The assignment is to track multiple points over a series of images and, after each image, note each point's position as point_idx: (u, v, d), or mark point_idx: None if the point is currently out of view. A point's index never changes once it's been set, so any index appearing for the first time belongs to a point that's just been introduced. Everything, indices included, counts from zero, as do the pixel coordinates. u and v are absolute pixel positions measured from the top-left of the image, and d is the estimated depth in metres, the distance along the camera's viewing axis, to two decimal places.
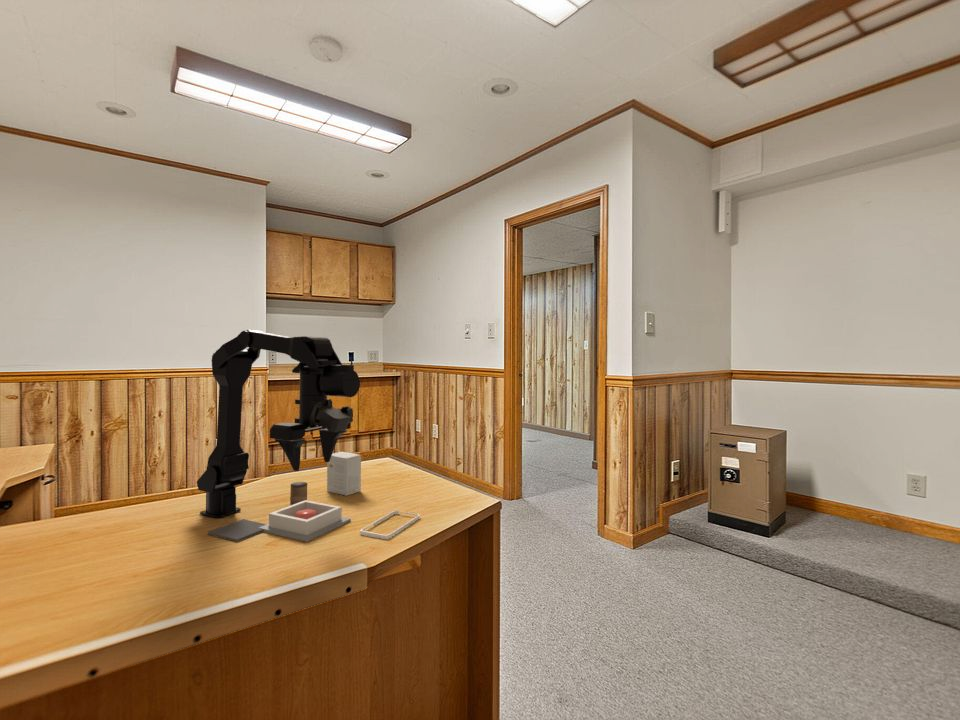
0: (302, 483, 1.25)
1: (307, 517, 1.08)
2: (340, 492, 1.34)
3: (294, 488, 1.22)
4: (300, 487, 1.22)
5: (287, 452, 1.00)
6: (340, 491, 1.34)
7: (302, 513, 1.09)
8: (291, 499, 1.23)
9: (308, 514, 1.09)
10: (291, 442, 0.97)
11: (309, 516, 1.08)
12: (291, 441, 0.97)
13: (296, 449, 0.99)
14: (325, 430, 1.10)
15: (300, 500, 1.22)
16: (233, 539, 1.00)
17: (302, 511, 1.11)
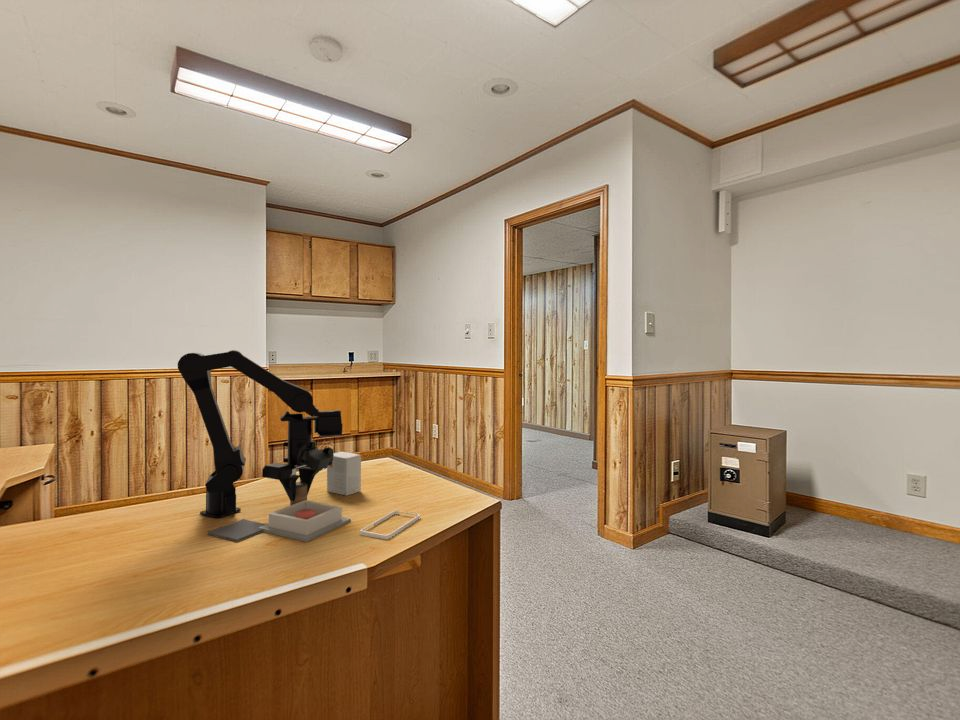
0: (302, 483, 1.24)
1: (307, 517, 1.08)
2: (340, 492, 1.34)
3: None
4: (300, 487, 1.22)
5: (284, 485, 1.21)
6: (340, 491, 1.34)
7: (302, 513, 1.09)
8: None
9: (308, 514, 1.09)
10: (288, 478, 1.18)
11: (309, 516, 1.08)
12: (288, 477, 1.18)
13: (292, 483, 1.20)
14: (303, 468, 1.27)
15: (300, 500, 1.22)
16: (233, 539, 1.00)
17: (302, 511, 1.11)
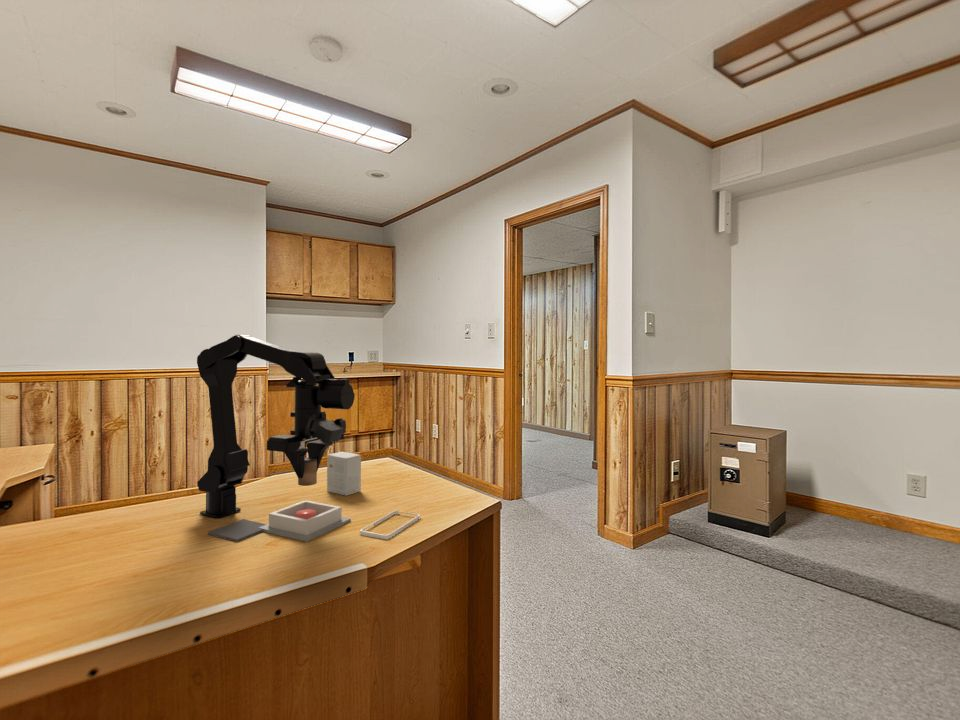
0: (311, 458, 1.11)
1: (307, 517, 1.08)
2: (340, 492, 1.34)
3: None
4: (309, 462, 1.09)
5: (292, 461, 1.08)
6: (340, 491, 1.34)
7: (302, 513, 1.09)
8: None
9: (308, 514, 1.09)
10: (295, 451, 1.04)
11: (309, 516, 1.08)
12: (296, 450, 1.05)
13: (300, 458, 1.06)
14: (312, 442, 1.14)
15: (309, 477, 1.09)
16: (233, 539, 1.00)
17: (302, 511, 1.11)
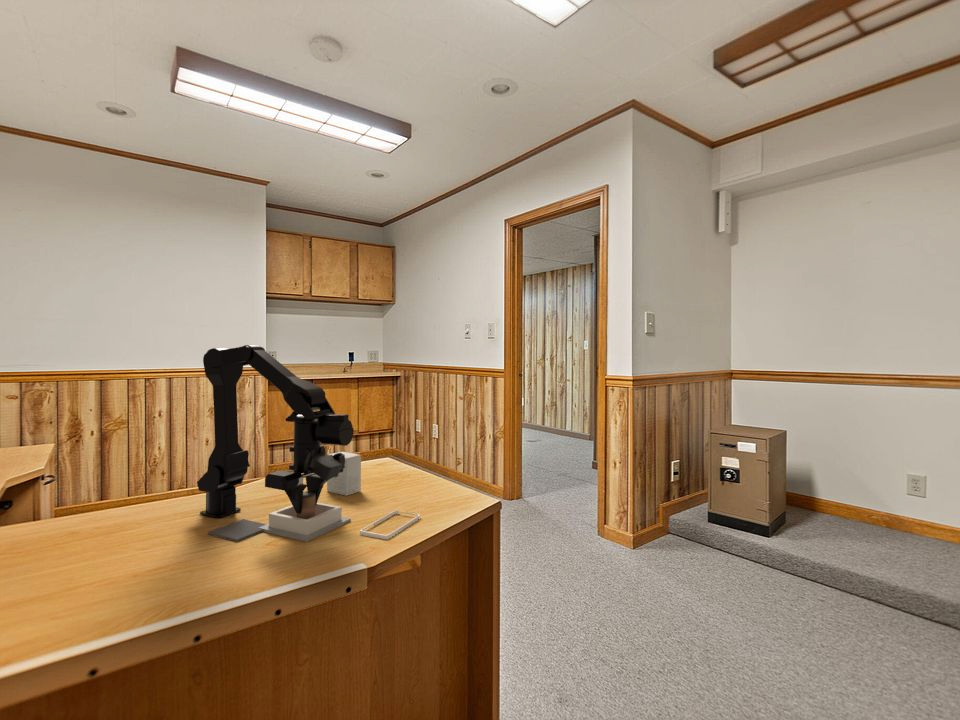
0: (310, 493, 1.10)
1: None
2: (340, 492, 1.34)
3: None
4: (308, 498, 1.08)
5: (290, 496, 1.07)
6: (340, 491, 1.34)
7: None
8: None
9: None
10: (294, 488, 1.04)
11: None
12: (294, 487, 1.04)
13: (298, 494, 1.06)
14: (311, 476, 1.13)
15: (308, 512, 1.08)
16: (233, 539, 1.00)
17: None
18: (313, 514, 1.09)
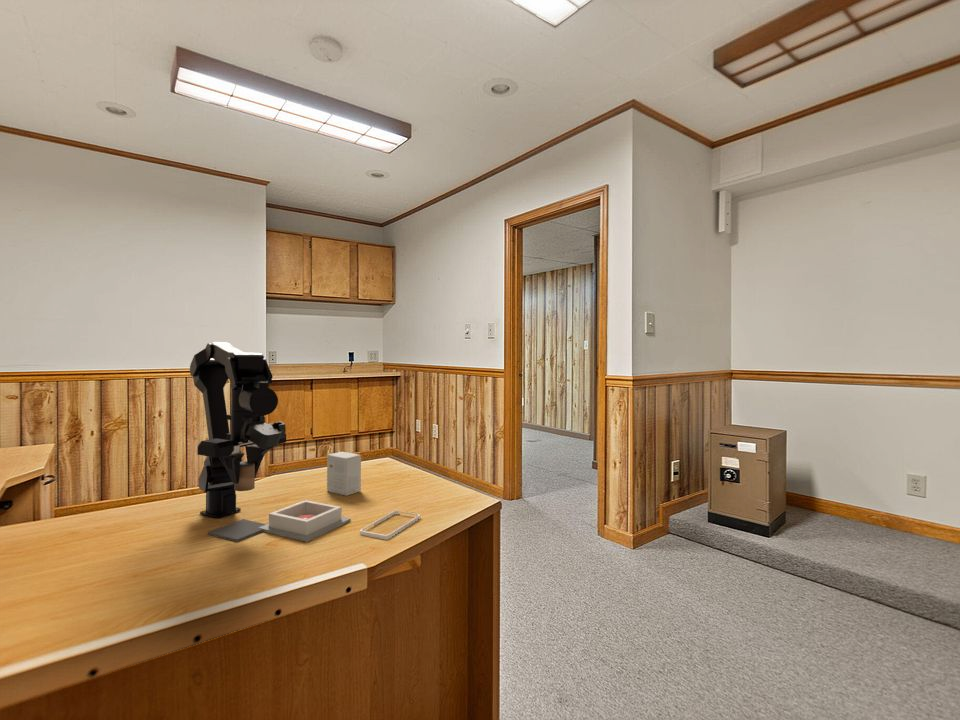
0: (249, 463, 1.06)
1: None
2: (340, 492, 1.34)
3: None
4: (245, 467, 1.04)
5: (226, 465, 1.03)
6: (340, 491, 1.34)
7: None
8: None
9: None
10: (229, 456, 1.00)
11: None
12: (229, 455, 1.00)
13: (235, 463, 1.02)
14: (251, 446, 1.09)
15: (246, 482, 1.04)
16: (233, 539, 1.00)
17: (302, 516, 1.11)
18: (252, 484, 1.05)
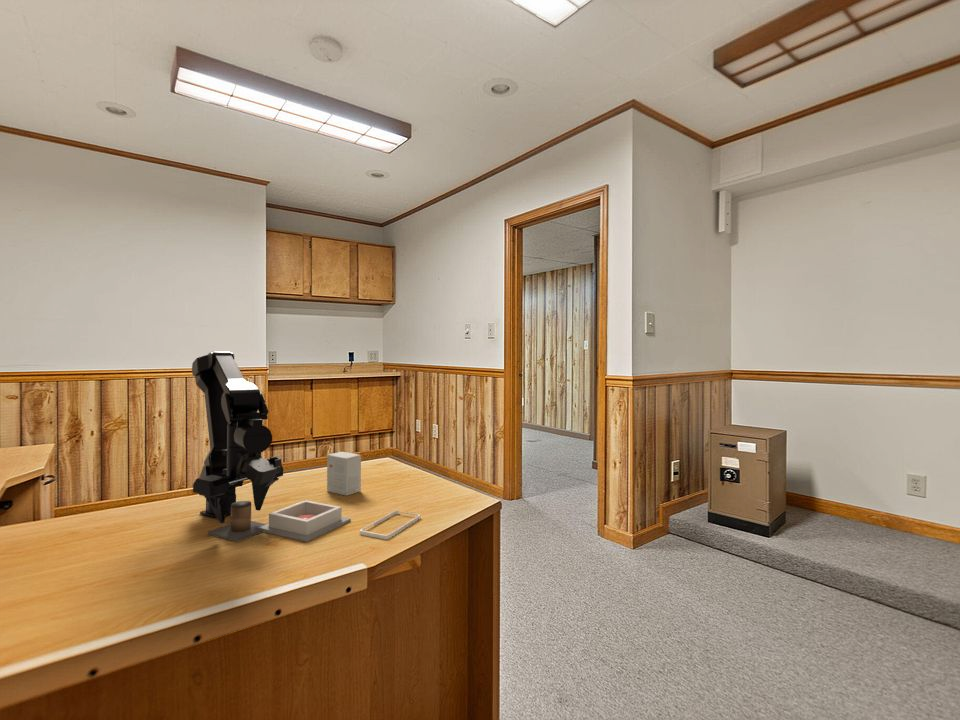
0: (245, 503, 1.06)
1: None
2: (340, 492, 1.34)
3: (234, 508, 1.04)
4: (242, 508, 1.04)
5: (212, 505, 1.01)
6: (340, 491, 1.34)
7: None
8: (231, 522, 1.04)
9: None
10: (213, 496, 0.98)
11: None
12: (214, 496, 0.98)
13: (220, 502, 1.00)
14: None
15: (242, 523, 1.04)
16: (233, 539, 1.00)
17: (302, 516, 1.11)
18: (248, 525, 1.05)
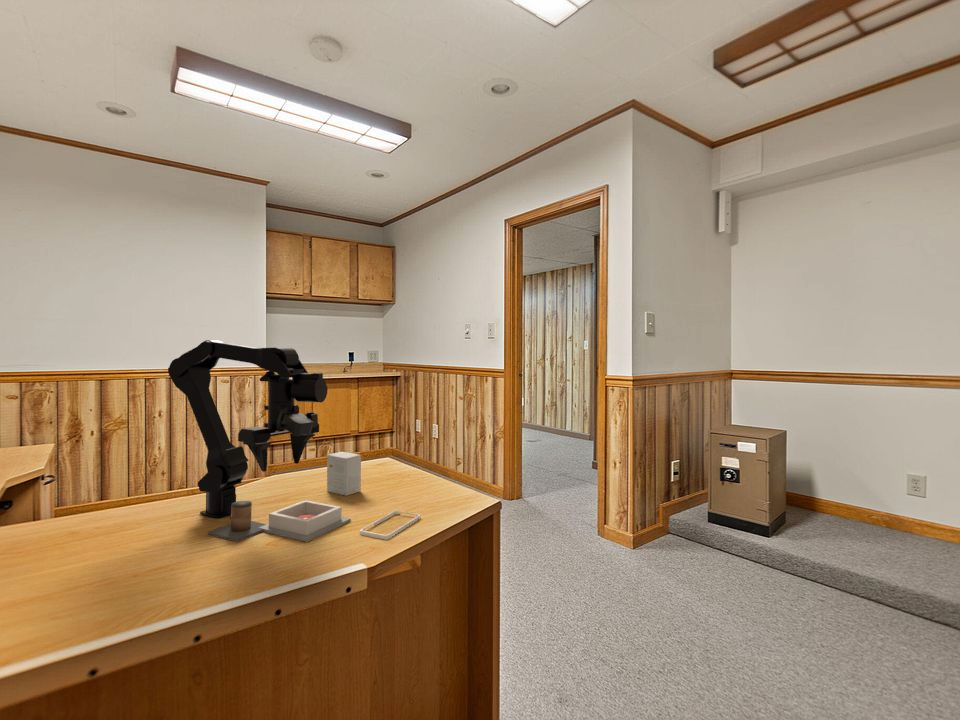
0: (246, 502, 1.06)
1: None
2: (340, 492, 1.34)
3: (234, 508, 1.04)
4: (242, 507, 1.04)
5: (255, 454, 1.09)
6: (340, 491, 1.34)
7: None
8: (231, 521, 1.04)
9: None
10: (256, 444, 1.06)
11: None
12: (256, 444, 1.06)
13: (262, 451, 1.08)
14: None
15: (242, 522, 1.04)
16: (233, 539, 1.00)
17: (302, 516, 1.11)
18: (248, 525, 1.05)
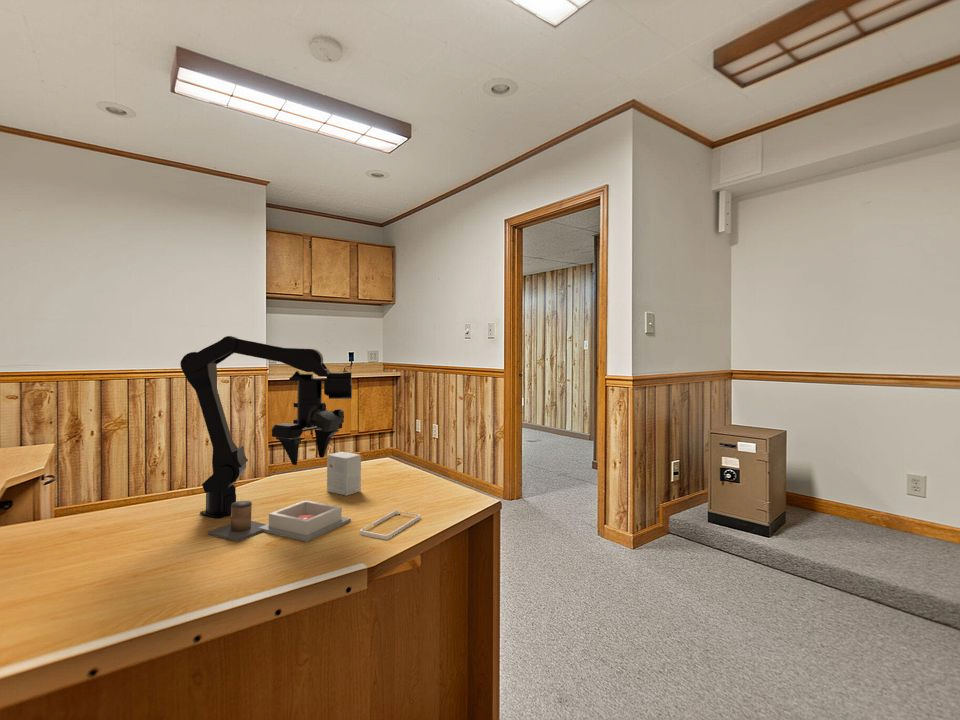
0: (246, 503, 1.06)
1: None
2: (340, 492, 1.34)
3: (234, 508, 1.04)
4: (241, 508, 1.04)
5: (287, 448, 1.16)
6: (340, 491, 1.34)
7: None
8: (231, 521, 1.04)
9: None
10: (290, 439, 1.13)
11: None
12: (290, 439, 1.13)
13: (294, 446, 1.15)
14: (320, 430, 1.26)
15: (241, 523, 1.04)
16: (233, 539, 1.00)
17: (302, 516, 1.11)
18: (247, 525, 1.05)
